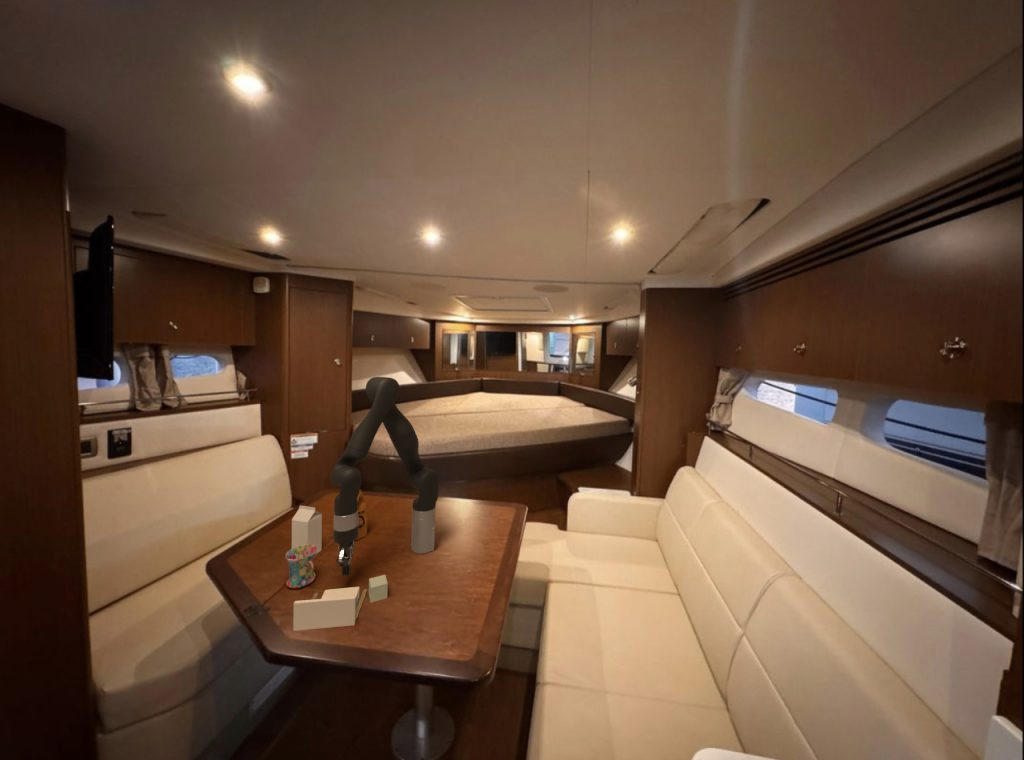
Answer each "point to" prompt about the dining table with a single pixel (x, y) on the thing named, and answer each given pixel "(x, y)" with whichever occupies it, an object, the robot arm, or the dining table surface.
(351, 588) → the carton
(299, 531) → the milk carton
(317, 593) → the frame
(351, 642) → the dining table surface
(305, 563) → the mug
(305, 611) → the backdrop
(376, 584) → the green box
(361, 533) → the coffee package
